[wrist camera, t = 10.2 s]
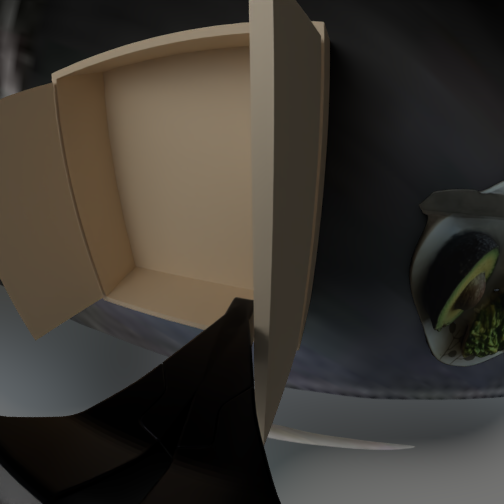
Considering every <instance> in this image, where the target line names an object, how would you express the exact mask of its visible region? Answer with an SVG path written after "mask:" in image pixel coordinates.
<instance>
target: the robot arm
mask: <svg viewBox="0 0 504 504" xmlns="http://www.w3.org/2000/svg"><path fill="white" fill-rule="evenodd" d="M253 340H254V300H251V299H245V298H240V297H235V298H234V299H233V301H232V302H231V304H230V306H229V307H228V309H227V311H226V312H225V314H224V315H223V316H222V317H220V318H219V319H218V320H217V321H215V322H214V323H213V324H212V325H210V326H209V327H208V328H207V329H205V330H204V331H203V332H201V333H200V334H199V335H198V336H196V337H195V338H194V339H192V340H191V341H190V342H189V343H187V344H186V345H185V346H183V347H182V348H181V349H180V350H178V351H177V352H176V353H174V354H173V355H172V356H170V357H169V358H168V359H166V360H165V361H164V362H163V364H160V365H159V366H157V367H156V368H154V369H153V370H152V371H150V372H149V373H148V374H146V375H145V376H143V377H142V378H141V379H139V380H138V381H136V382H135V383H133V384H131V385H130V386H128V387H126V388H125V389H123V390H121V391H120V392H118V393H116V394H114V395H113V396H111V397H109V398H107V399H105V400H104V401H102V402H100V403H98V404H96V405H95V406H93V407H91V408H89V409H87V410H85V411H83V412H80V413H78V414H74V415H70V416H63V417H6V416H0V504H281V502H280V500H279V497H278V495H277V492H276V489H275V486H274V483H273V479H272V476H271V472H270V468H269V465H268V461H267V457H266V453H265V449H264V445H263V441H262V437H261V433H260V428H259V423H258V418H257V411H256V403H255V390H254V377H253V363H252V348H251V347H252V344H253Z"/></svg>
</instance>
